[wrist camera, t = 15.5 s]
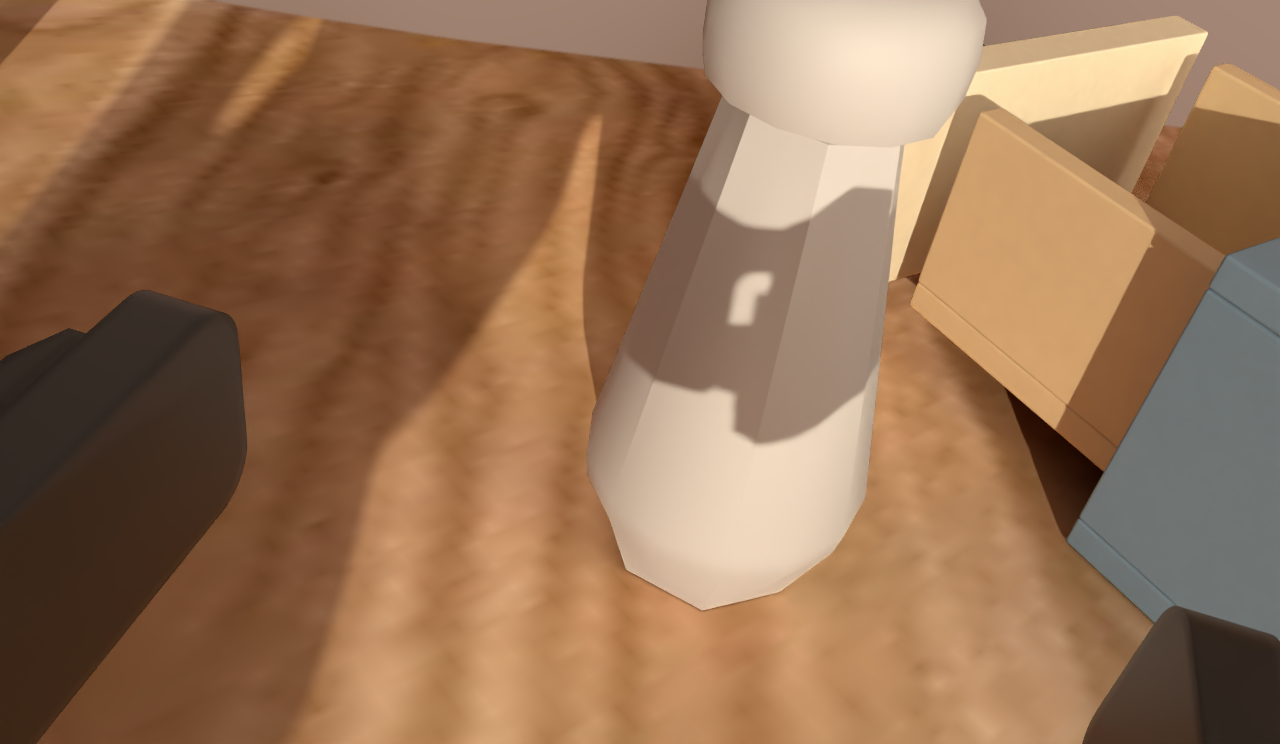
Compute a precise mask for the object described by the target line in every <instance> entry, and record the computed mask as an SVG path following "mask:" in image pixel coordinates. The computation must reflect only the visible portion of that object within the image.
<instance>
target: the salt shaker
mask: <svg viewBox="0 0 1280 744" xmlns="http://www.w3.org/2000/svg"><path fill="white" fill-rule="evenodd" d="M986 23H987V19H986V16H985V14H984V11H983V9H982V6H981V3H980V1H979V0H707V7H706V14H705V21H704V28H703V61H704V69H705V76H706V77H707V78H708V79H709V81H710V82H711V83H712V84H713V85H714V86H715V88H716V89H717V90H718V91H719V92H720V93H721V95H722V98H721V100H720V102H719V105H718V107H717V110H716V112H715V115H714V117H713V120H712V122H711V124H710V127H709V129H708V132H707V134H706V137H705V139H704V142H703V144H702V146H701V149H700V151H699V154H698V156H697V159H696V161H695V163H694V166H693V168H692V171H691V173H690V176H689V178H688V181H687V183H686V185H685V188H684V190H683V193H682V195H681V198H680V200H679V203H678V205H677V207H676V210H675V212H674V215H673V217H672V220H671V222H670V224H669V227H668V229H667V232H666V234H665V237H664V239H663V242H662V244H661V246H660V249H659V251H658V254H657V256H656V259H655V261H654V263H653V266H652V268H651V271H650V273H649V276H648V278H647V281H646V283H645V285H644V288H643V290H642V293H641V295H640V298H639V300H638V303H637V305H636V307H635V310H634V312H633V315H632V317H631V320H630V322H629V324H628V327H627V329H626V332H625V334H624V337H623V339H622V342H621V344H620V346H619V349H618V351H617V354H616V356H615V359H614V361H613V364H612V366H611V368H610V371H609V373H608V376H607V378H606V381H605V383H604V385H603V388H602V390H601V393H600V395H599V398H598V400H597V403H596V405H595V407H594V410H593V413H592V421H591V428H590V436H589V444H588V452H587V475H588V477H589V479H590V481H591V483H592V485H593V487H594V489H595V491H596V493H597V495H598V497H599V499H600V501H601V503H602V505H603V507H604V509H605V511H606V513H607V515H608V517H609V519H610V522H611V525H612V528H613V531H614V535H615V538H616V541H617V544H618V547H619V550H620V553H621V556H622V559H623V562H624V565H625V568H626V570H627V571H629V572H631V573H633V574H635V575H637V576H639V577H641V578H642V579H644V580H646V581H648V582H650V583H652V584H654V585H655V586H657V587H659V588H661V589H663V590H665V591H667V592H669V593H670V594H672V595H674V596H676V597H678V598H680V599H682V600H683V601H685V602H687V603H689V604H691V605H693V606H695V607H697V608H698V609H700V610H707V609H711V608H715V607H719V606H723V605H728V604H732V603H736V602H740V601H744V600H749V599H753V598H757V597H761V596H765V595H770V594H774V593H778V592H780V591H782V590H783V589H784V588H786V587H787V586H788V585H790V584H791V583H792V582H794V581H795V580H796V579H798V578H799V577H800V576H802V575H803V574H804V573H806V572H807V571H808V570H810V569H811V568H813V567H814V566H815V565H817V564H818V563H819V562H821V561H822V560H823V559H825V558H826V557H827V556H829V555H830V554H831V553H833V551H834V550H835V548H836V547H837V545H838V544H839V542H840V541H841V539H842V538H843V536H844V535H845V533H846V531H847V529H848V528H849V526H850V524H851V522H852V520H853V519H854V517H855V515H856V513H857V511H858V510H859V508H860V506H861V504H862V503H863V501H864V499H865V496H866V487H867V478H868V469H869V459H870V450H871V441H872V431H873V422H874V413H875V404H876V394H877V385H878V376H879V367H880V357H881V348H882V339H883V330H884V320H885V311H886V302H887V292H888V283H889V274H890V265H891V255H892V246H893V237H894V228H895V218H896V209H897V200H898V191H899V181H900V174H901V166H902V159H903V152H904V145H905V144H909V143H913V142H917V141H921V140H926V139H930V138H933V137H934V136H935V135H936V134H937V132H938V131H939V130H940V129H941V127H942V126H943V125H944V124H945V122H946V121H947V120H948V119H949V118H950V116H951V115H952V114H953V113H954V111H955V110H956V109H957V108H958V106H959V105H960V104H961V103H962V101H963V100H964V98H965V96H966V93H967V91H968V89H969V86H970V84H971V82H972V80H973V77H974V75H975V73H976V70H977V68H978V66H979V63H980V59H981V53H982V47H983V41H984V35H985V29H986Z"/></svg>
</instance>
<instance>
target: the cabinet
mask: <svg viewBox="0 0 1280 744" xmlns="http://www.w3.org/2000/svg"><path fill="white" fill-rule="evenodd" d="M1066 541H1067V542H1068V543H1069V544H1070V545H1071V546H1072V547H1073V548H1074V549H1075V550H1076V551H1077V552H1078V553H1079V554H1081V555H1082V556H1083V557H1084V558H1085V559H1086V560H1087V561H1088V562H1089V563H1090V564H1091V565H1092V566H1093V567H1095V568H1096V569H1097V570H1098V571H1099V572H1100V573H1101V574H1102V575H1103V576H1104V577H1105V578H1106V579H1108V580H1109V581H1110V582H1111V583H1112V584H1113V585H1114V586H1115V587H1116V588H1117V589H1118V590H1119V591H1120V592H1122V593H1123V594H1124V595H1125V596H1126V597H1127V598H1128V599H1129V600H1130V601H1131V602H1132V603H1133V604H1134V605H1136V606H1137V607H1138V608H1139V609H1140V610H1141V611H1142V612H1143V613H1144V614H1145V615H1146V616H1147V617H1148V618H1150V619H1151V620H1152V621H1153V622H1154V623H1155V622H1156V621H1157V620H1158V618H1159V617H1160V616H1161V614H1162V613H1163V612H1164V611H1165V610H1167V609H1168V608H1170V607H1172V606H1180V607H1184V608H1187V609H1190V610H1193V611H1197V612H1200V613H1203V614H1207V615H1210V616H1213V617H1216V618H1220V619H1223V620H1226V621H1230V622H1233V623H1236V624H1240V625H1243V626H1246V627H1249V628H1253V629H1256V630H1259V631H1263V632H1266V633H1269V634H1272V635H1274V636H1275V637H1277V638H1278V639H1279V641H1280V237H1278V238H1275V239H1272V240H1269V241H1266V242H1263V243H1260V244H1257V245H1254V246H1251V247H1248V248H1245V249H1242V250H1239V251H1236V252H1233V253H1230V254H1227V255H1226V256H1225V257H1224V259H1223V260H1222V262H1221V264H1220V266H1219V268H1218V269H1217V271H1216V273H1215V275H1214V276H1213V278H1212V280H1211V282H1210V284H1209V288H1208V289H1207V290H1206V291H1205V293H1204V294H1203V296H1202V298H1201V300H1200V301H1199V303H1198V305H1197V307H1196V309H1195V310H1194V312H1193V314H1192V316H1191V317H1190V319H1189V321H1188V323H1187V325H1186V326H1185V328H1184V330H1183V332H1182V334H1181V335H1180V337H1179V339H1178V341H1177V342H1176V344H1175V346H1174V348H1173V350H1172V351H1171V353H1170V355H1169V357H1168V358H1167V360H1166V362H1165V364H1164V366H1163V367H1162V369H1161V371H1160V373H1159V374H1158V376H1157V378H1156V380H1155V382H1154V383H1153V385H1152V387H1151V389H1150V391H1149V392H1148V394H1147V396H1146V398H1145V399H1144V401H1143V403H1142V405H1141V407H1140V408H1139V410H1138V412H1137V414H1136V415H1135V417H1134V419H1133V421H1132V423H1131V424H1130V426H1129V428H1128V430H1127V432H1126V433H1125V435H1124V437H1123V439H1122V440H1121V442H1120V444H1119V446H1118V448H1117V449H1116V451H1115V453H1114V455H1113V456H1112V458H1111V460H1110V462H1109V464H1108V465H1107V467H1106V469H1105V471H1104V472H1103V474H1102V476H1101V478H1100V480H1099V481H1098V483H1097V485H1096V487H1095V489H1094V490H1093V492H1092V494H1091V496H1090V497H1089V499H1088V501H1087V503H1086V505H1085V506H1084V508H1083V510H1082V512H1081V513H1080V518H1078V519H1077V521H1076V522H1075V524H1074V526H1073V528H1072V530H1071V531H1070V533H1069V535H1068V537H1067V538H1066Z"/></svg>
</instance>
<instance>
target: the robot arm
mask: <svg viewBox="0 0 1280 744" xmlns="http://www.w3.org/2000/svg"><path fill="white" fill-rule="evenodd" d="M246 452H247V434H246V422H245V410H244V399H243V387H242V375H241V363H240V351H239V339H238V332H237V327H236V324H235V322H234V320H233V319H232V318H231V317H230V316H229V315H228V314H226V313H223V312H220V311H216V310H213V309H210V308H207V307H203V306H200V305H197V304H193V303H190V302H187V301H183V300H180V299H177V298H174V297H170V296H167V295H164V294H160V293H157V292H154V291H151V290H141V291H137V292H135V293H133V294H131V295H130V296H129V297H127V298H126V299H125V300H124V301H122V302H121V303H120V304H119V305H118V306H117V307H116V308H115V309H113V310H112V311H111V312H110V313H109V314H108V315H107V316H106V317H104V318H103V319H102V320H101V321H100V322H99V323H98V324H97V325H95V326H94V327H93V328H92V329H91V330H90V331H89V332H87V333H83V332H80V331H76V330H73V329H70V328H68V329H66V330H64V331H62V332H59V333H57V334H55V335H53V336H50V337H48V338H46V339H44V340H41V341H39V342H37V343H35V344H32V345H30V346H28V347H25V348H23V349H21V350H19V351H16V352H14V353H12V354H10V355H7V356H6V357H5V358H3V359H2V360H1V361H0V744H36V743H37V742H38V741H39V739H40V738H41V737H42V736H43V734H44V733H45V732H46V731H47V729H48V728H49V727H50V726H51V724H52V723H53V722H54V721H55V719H56V718H57V717H58V716H59V714H60V713H61V712H62V711H63V709H64V708H65V707H66V706H67V704H68V703H69V702H70V701H71V699H72V698H73V697H74V696H75V694H76V693H77V692H78V691H79V689H80V688H81V687H82V686H83V684H84V683H85V682H86V681H87V680H88V678H89V677H90V676H91V675H92V673H93V672H94V671H95V670H96V668H97V667H98V666H99V665H100V663H101V662H102V661H103V660H104V658H105V657H106V656H107V655H108V653H109V652H110V651H111V650H112V648H113V647H114V646H115V645H116V643H117V642H118V641H119V640H120V638H121V637H122V636H123V635H124V633H125V632H126V631H127V630H128V628H129V627H130V626H131V625H132V623H133V622H134V621H135V620H136V618H137V617H138V616H139V615H140V614H141V612H142V611H143V610H144V609H145V607H146V606H147V605H148V604H149V602H150V601H151V600H152V599H153V597H154V596H155V595H156V594H157V592H158V591H159V590H160V589H161V587H162V586H163V585H164V584H165V582H166V581H167V580H168V579H169V577H170V576H171V575H172V574H173V572H174V571H175V570H176V569H177V567H178V566H179V565H180V564H181V562H182V561H183V560H184V559H185V557H186V556H187V555H188V554H189V552H190V551H191V550H192V549H193V548H194V546H195V545H196V544H197V543H198V541H199V540H200V539H201V538H202V536H203V535H204V534H205V533H206V531H207V530H208V529H209V528H210V526H211V525H212V524H213V523H214V521H215V520H216V519H217V518H218V516H219V515H220V514H221V513H222V511H223V510H224V509H225V507H226V506H227V504H228V503H229V501H230V499H231V498H232V496H233V494H234V492H235V490H236V487H237V485H238V483H239V480H240V477H241V474H242V471H243V467H244V464H245V459H246ZM1082 744H1280V641H1279V639H1278V638H1277V637H1275V636H1274V635H1272V634H1269V633H1266V632H1263V631H1259V630H1256V629H1253V628H1249V627H1246V626H1243V625H1240V624H1236V623H1233V622H1230V621H1226V620H1223V619H1220V618H1216V617H1213V616H1210V615H1207V614H1203V613H1200V612H1197V611H1193V610H1190V609H1187V608H1184V607H1180V606H1172V607H1170V608H1168V609H1167V610H1165V611H1164V612H1163V613H1162V614H1161V616H1160V617H1159V618H1158V620H1157V621H1156V622H1155V624H1154V625H1153V627H1152V628H1151V630H1150V631H1149V633H1148V634H1147V636H1146V637H1145V639H1144V640H1143V642H1142V643H1141V645H1140V646H1139V648H1138V649H1137V651H1136V652H1135V654H1134V655H1133V657H1132V658H1131V660H1130V661H1129V663H1128V664H1127V666H1126V667H1125V669H1124V670H1123V672H1122V673H1121V675H1120V676H1119V678H1118V679H1117V681H1116V682H1115V684H1114V685H1113V687H1112V688H1111V690H1110V691H1109V693H1108V694H1107V696H1106V697H1105V699H1104V700H1103V702H1102V703H1101V705H1100V706H1099V708H1098V709H1097V711H1096V713H1095V714H1094V716H1093V718H1092V720H1091V722H1090V724H1089V726H1088V729H1087V731H1086V734H1085V737H1084V740H1083V743H1082Z"/></svg>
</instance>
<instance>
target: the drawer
mask: <svg viewBox="0 0 1280 744" xmlns="http://www.w3.org/2000/svg"><path fill="white" fill-rule="evenodd" d="M1207 35H1208V32H1207V31H1205V30H1203V29H1201V28H1199V27H1197V26H1195V25H1194V24H1192V23H1190V22H1188V21H1186V20H1184V19H1182V18H1180V17H1179V16H1169V17H1163V18H1157V19H1150V20H1144V21H1138V22H1131V23H1125V24H1119V25H1113V26H1106V27H1100V28H1094V29H1088V30H1082V31H1075V32H1068V33H1062V34H1056V35H1050V36H1043V37H1037V38H1031V39H1025V40H1018V41H1012V42H1006V43H1000V44H993V45H987V46H985V45H984V44H983V47H982V53H981V59H980V63H979V66H978V68H977V70H976V73H975V75H974V77H973V80H972V82H971V84H970V86H969V89H968V91H967V93H966V96H965V98H964V100H963V101H962V103H961V104H960V105H959V106H958V108H957V109H956V110H955V111H954V113H953V114H952V115H951V116H950V118H949V119H948V120H947V121H946V122H945V124H944V125H943V126H942V127H941V129H940V130H939V131H938V132H937V134H936V135H935V136H934V137H933V138H930V139H926V140H921V141H917V142H913V143H909V144H905V145H904V152H903V159H902V166H901V174H900V181H899V191H898V200H897V209H896V218H895V228H894V237H893V246H892V255H891V265H890V274H889V282H890V281H894V280H897V279H901V278H904V277H908V276H911V275H915V274H919V273H921V274H920V277H919V283H918V284H917V285H916V288H915V291H914V294H913V296H912V299H911V302H910V306H911V307H912V308H913V309H915V310H916V311H917V312H918V313H919V314H920V315H922V316H923V317H924V318H925V319H926V320H927V321H929V322H930V323H931V324H932V325H933V326H934V327H936V328H937V329H938V330H939V331H940V332H941V333H943V334H944V335H945V336H946V337H947V338H948V339H950V340H951V341H952V342H953V343H954V344H955V345H956V346H958V347H959V348H960V349H961V350H962V351H963V352H965V353H966V354H967V355H968V356H969V357H970V358H972V359H973V360H974V361H975V362H976V363H977V364H979V365H980V366H981V367H982V368H983V369H984V370H986V371H987V372H988V373H989V374H990V375H991V376H993V377H994V378H995V379H996V380H997V381H998V382H1000V383H1001V384H1002V385H1003V386H1004V387H1005V388H1007V389H1008V390H1009V391H1010V392H1011V393H1012V394H1014V395H1015V396H1016V397H1017V398H1018V399H1019V400H1021V401H1022V402H1023V403H1024V404H1025V405H1026V406H1027V407H1029V408H1030V409H1031V410H1032V411H1033V412H1034V413H1036V414H1037V415H1038V416H1039V417H1040V418H1041V419H1043V420H1044V421H1045V422H1046V423H1047V424H1048V425H1050V426H1051V427H1052V428H1053V429H1054V430H1055V431H1057V432H1058V433H1059V434H1060V435H1061V436H1062V437H1064V438H1065V439H1066V440H1067V441H1068V442H1069V443H1071V444H1072V445H1073V446H1074V447H1075V448H1076V449H1078V450H1079V451H1080V452H1081V453H1082V454H1083V455H1085V456H1086V457H1087V458H1088V459H1089V460H1090V461H1092V462H1093V463H1094V464H1095V465H1096V466H1097V467H1099V468H1100V469H1101V470H1102V471H1103V472H1104V471H1105V469H1106V467H1107V465H1108V464H1109V462H1110V460H1111V458H1112V456H1113V455H1114V453H1115V451H1116V449H1117V448H1118V446H1119V444H1120V442H1121V440H1122V439H1123V437H1124V435H1125V433H1126V432H1127V430H1128V428H1129V426H1130V424H1131V423H1132V421H1133V419H1134V417H1135V415H1136V414H1137V412H1138V410H1139V408H1140V407H1141V405H1142V403H1143V401H1144V399H1145V398H1146V396H1147V394H1148V392H1149V391H1150V389H1151V387H1152V385H1153V383H1154V382H1155V380H1156V378H1157V376H1158V374H1159V373H1160V371H1161V369H1162V367H1163V366H1164V364H1165V362H1166V360H1167V358H1168V357H1169V355H1170V353H1171V351H1172V350H1173V348H1174V346H1175V344H1176V342H1177V341H1178V339H1179V337H1180V335H1181V334H1182V332H1183V330H1184V328H1185V326H1186V325H1187V323H1188V321H1189V319H1190V317H1191V316H1192V314H1193V312H1194V310H1195V309H1196V307H1197V305H1198V303H1199V301H1200V300H1201V298H1202V296H1203V294H1204V293H1205V291H1206V290H1207V289H1208V288H1209V284H1210V282H1211V280H1212V278H1213V276H1214V275H1215V273H1216V271H1217V269H1218V268H1219V266H1220V264H1221V262H1222V260H1223V259H1224V257H1225V256H1226V255H1227V254H1230V253H1233V252H1236V251H1239V250H1242V249H1245V248H1248V247H1251V246H1254V245H1257V244H1260V243H1263V242H1266V241H1269V240H1272V239H1275V238H1278V237H1280V91H1279V90H1278V89H1276V88H1274V87H1272V86H1270V85H1268V84H1267V83H1265V82H1263V81H1261V80H1259V79H1258V78H1256V77H1254V76H1252V75H1250V74H1248V73H1246V72H1245V71H1243V70H1241V69H1239V68H1237V67H1235V66H1233V65H1232V64H1222V65H1217V66H1214V67H1213V68H1212V70H1211V72H1210V74H1209V76H1208V78H1207V80H1206V82H1205V84H1204V86H1203V88H1202V90H1201V92H1200V94H1199V96H1198V98H1197V100H1196V102H1195V104H1194V106H1193V108H1192V110H1191V113H1190V114H1189V116H1188V118H1187V120H1186V122H1185V124H1184V126H1183V128H1182V130H1181V132H1180V134H1179V137H1178V139H1177V141H1176V143H1175V145H1174V147H1173V149H1172V151H1171V153H1170V155H1169V157H1168V159H1167V161H1166V163H1165V165H1164V167H1163V169H1162V171H1161V173H1160V175H1159V177H1158V179H1157V181H1156V183H1155V185H1154V187H1153V189H1152V191H1151V193H1150V195H1149V197H1148V199H1147V201H1146V203H1145V202H1143V201H1142V200H1140V199H1139V198H1137V197H1136V196H1134V195H1133V194H1131V193H1132V191H1133V189H1134V187H1135V185H1136V183H1137V180H1138V178H1139V176H1140V174H1141V172H1142V170H1143V168H1144V166H1145V164H1146V162H1147V160H1148V158H1149V155H1150V153H1151V151H1152V149H1153V147H1154V145H1155V143H1156V141H1157V139H1158V137H1159V135H1160V133H1161V131H1162V128H1163V126H1164V124H1165V122H1166V120H1167V118H1168V116H1169V114H1170V112H1171V110H1172V108H1173V105H1174V103H1175V101H1176V99H1177V97H1178V95H1179V93H1180V91H1181V89H1182V87H1183V85H1184V83H1185V80H1186V79H1187V76H1188V74H1189V72H1190V70H1191V68H1192V66H1193V64H1194V62H1195V60H1196V57H1197V55H1198V54H1199V51H1200V49H1201V47H1202V45H1203V43H1204V41H1205V39H1206V37H1207Z"/></svg>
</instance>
